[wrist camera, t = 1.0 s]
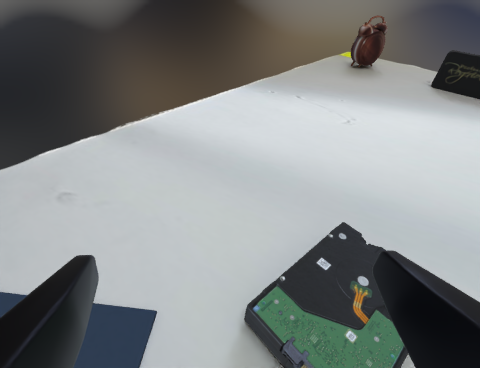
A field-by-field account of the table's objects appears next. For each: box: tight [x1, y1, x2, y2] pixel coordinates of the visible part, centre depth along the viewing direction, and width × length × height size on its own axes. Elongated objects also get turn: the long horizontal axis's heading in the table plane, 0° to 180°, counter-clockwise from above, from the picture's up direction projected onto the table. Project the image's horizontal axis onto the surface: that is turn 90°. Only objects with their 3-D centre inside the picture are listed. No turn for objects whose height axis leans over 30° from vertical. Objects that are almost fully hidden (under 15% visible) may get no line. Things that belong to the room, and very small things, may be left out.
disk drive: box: [244, 222, 408, 368], centre depth 23 cm, size 10×3×15 cm
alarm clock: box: [351, 16, 387, 67], centre depth 87 cm, size 11×5×15 cm, turn 116°
